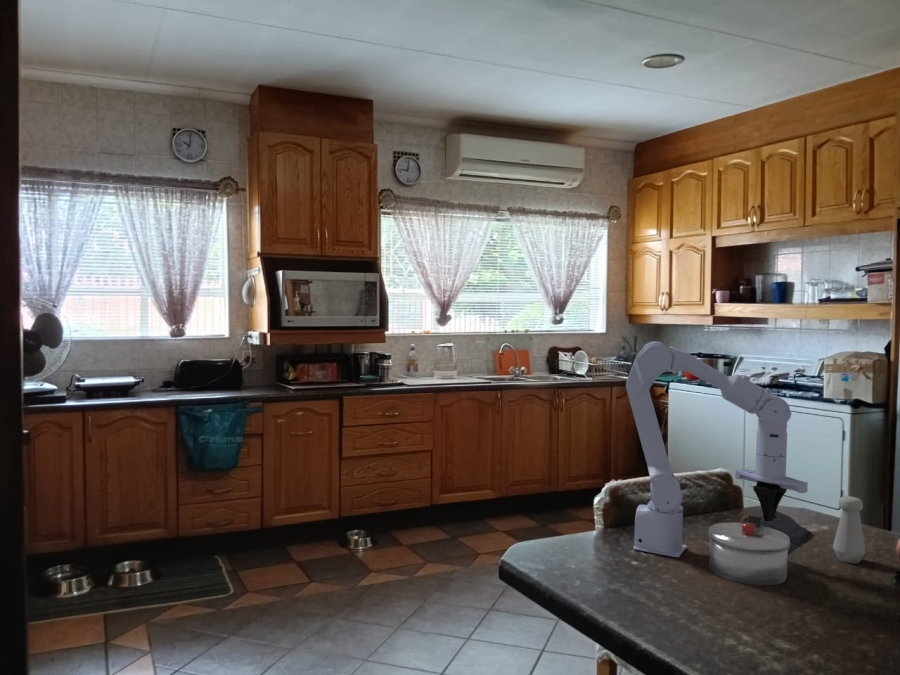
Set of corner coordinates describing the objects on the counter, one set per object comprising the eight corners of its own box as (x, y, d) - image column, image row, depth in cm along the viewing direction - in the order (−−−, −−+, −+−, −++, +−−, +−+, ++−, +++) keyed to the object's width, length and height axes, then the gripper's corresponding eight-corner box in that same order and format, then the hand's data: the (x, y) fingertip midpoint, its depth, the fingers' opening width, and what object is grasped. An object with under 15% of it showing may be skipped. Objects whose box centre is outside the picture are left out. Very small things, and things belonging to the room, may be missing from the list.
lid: (783, 557, 130) (784, 540, 129) (700, 542, 137) (701, 525, 137) (798, 530, 146) (798, 514, 146) (723, 517, 154) (724, 503, 154)
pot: (782, 591, 130) (784, 558, 130) (702, 575, 137) (703, 544, 137) (792, 559, 147) (793, 530, 147) (720, 546, 154) (721, 519, 154)
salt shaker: (868, 566, 144) (871, 502, 144) (838, 563, 146) (840, 500, 145) (858, 556, 150) (861, 495, 150) (828, 554, 151) (831, 493, 151)
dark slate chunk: (715, 542, 159) (716, 521, 159) (747, 521, 176) (748, 502, 176) (789, 559, 149) (790, 536, 149) (815, 535, 166) (816, 514, 166)
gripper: (816, 458, 142) (814, 526, 143) (749, 446, 154) (747, 509, 154) (797, 462, 138) (794, 532, 139) (730, 449, 150) (728, 514, 150)
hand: (768, 520), depth 146 cm, fingers closed
